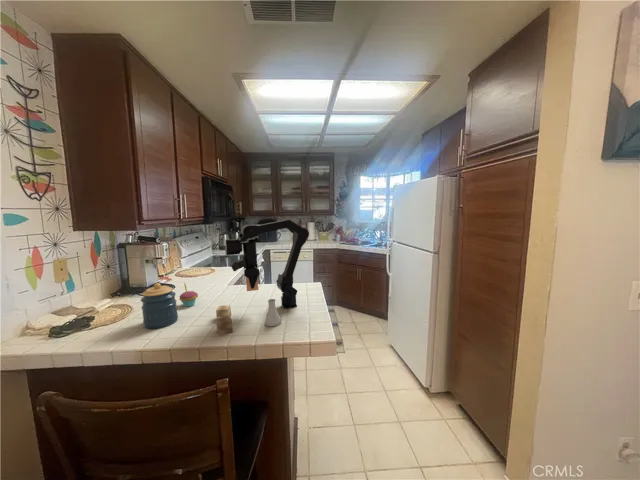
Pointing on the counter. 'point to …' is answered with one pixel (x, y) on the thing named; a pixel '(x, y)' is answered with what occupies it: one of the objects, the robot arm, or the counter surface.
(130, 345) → the counter surface
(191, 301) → the cupcake
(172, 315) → the canister
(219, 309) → the maple block
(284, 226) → the robot arm
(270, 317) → the flask
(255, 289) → the terracotta block
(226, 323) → the walnut block
